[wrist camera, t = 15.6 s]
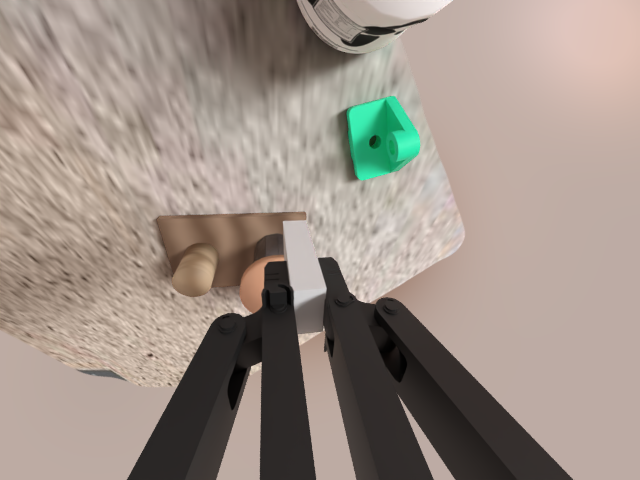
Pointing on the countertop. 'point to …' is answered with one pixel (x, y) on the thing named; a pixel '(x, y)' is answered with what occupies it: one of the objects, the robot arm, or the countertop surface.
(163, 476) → the robot arm
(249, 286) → the domed pot lid
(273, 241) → the tube
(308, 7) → the milk container
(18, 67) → the countertop surface
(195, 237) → the brown board with post
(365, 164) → the camera mount
